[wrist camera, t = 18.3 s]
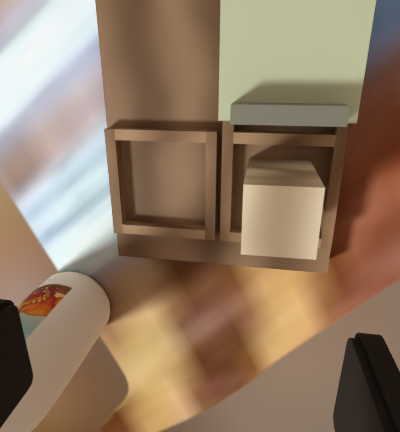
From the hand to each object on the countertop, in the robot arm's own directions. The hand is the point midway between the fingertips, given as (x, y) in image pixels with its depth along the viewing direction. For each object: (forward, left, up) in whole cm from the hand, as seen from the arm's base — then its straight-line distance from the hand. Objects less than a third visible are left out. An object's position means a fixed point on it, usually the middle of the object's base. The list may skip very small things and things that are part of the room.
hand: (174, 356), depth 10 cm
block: (+3, -1, -19) cm, 19 cm away
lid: (+3, +9, -18) cm, 20 cm away
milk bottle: (-16, -15, -21) cm, 30 cm away
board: (-1, +2, -21) cm, 21 cm away
